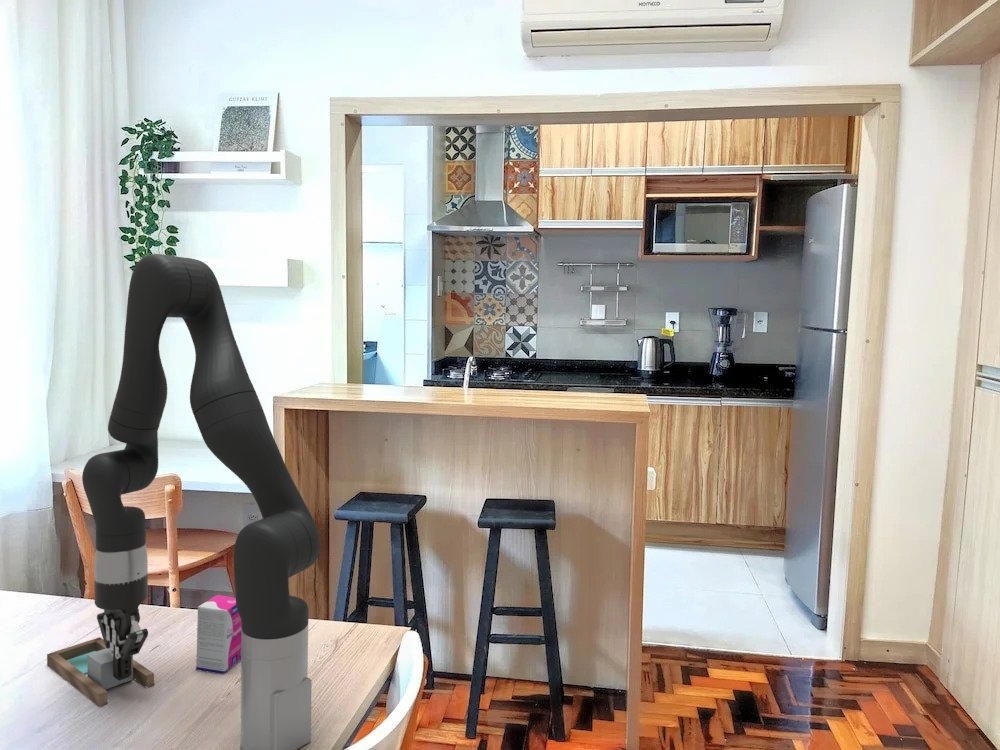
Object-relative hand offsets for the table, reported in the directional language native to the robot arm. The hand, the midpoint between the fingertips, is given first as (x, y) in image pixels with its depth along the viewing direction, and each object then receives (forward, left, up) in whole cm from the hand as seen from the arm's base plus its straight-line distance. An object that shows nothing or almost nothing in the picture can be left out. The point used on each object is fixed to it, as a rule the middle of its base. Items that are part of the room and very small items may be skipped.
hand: (122, 677), depth 111 cm
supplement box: (-3, -15, -3) cm, 16 cm away
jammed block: (+5, 0, -3) cm, 5 cm away
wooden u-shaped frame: (+9, 0, -3) cm, 9 cm away
